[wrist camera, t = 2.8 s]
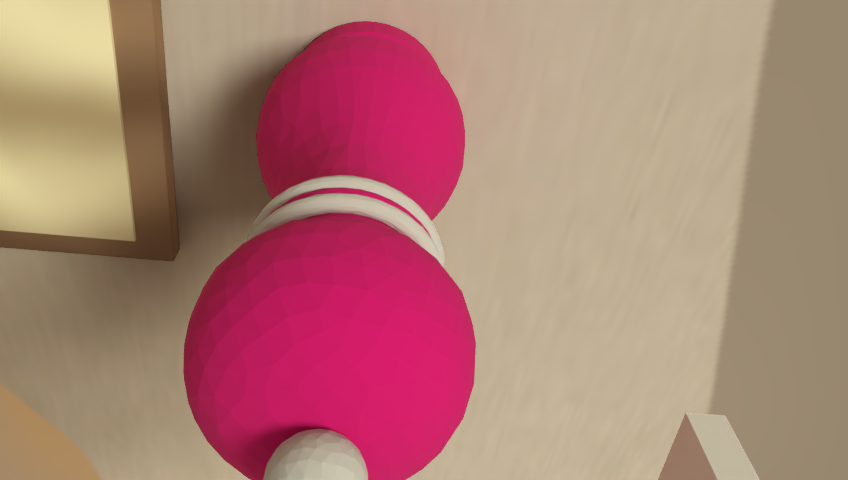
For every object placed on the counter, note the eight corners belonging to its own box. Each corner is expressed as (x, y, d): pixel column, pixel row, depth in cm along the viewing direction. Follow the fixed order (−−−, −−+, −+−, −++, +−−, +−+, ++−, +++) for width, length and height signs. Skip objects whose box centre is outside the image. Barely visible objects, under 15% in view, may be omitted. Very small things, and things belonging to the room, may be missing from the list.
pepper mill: (493, 109, 29) (623, 540, 11) (362, 209, 31) (308, 694, 14) (375, -35, 26) (313, 258, 9) (240, 88, 28) (-24, 514, 11)
